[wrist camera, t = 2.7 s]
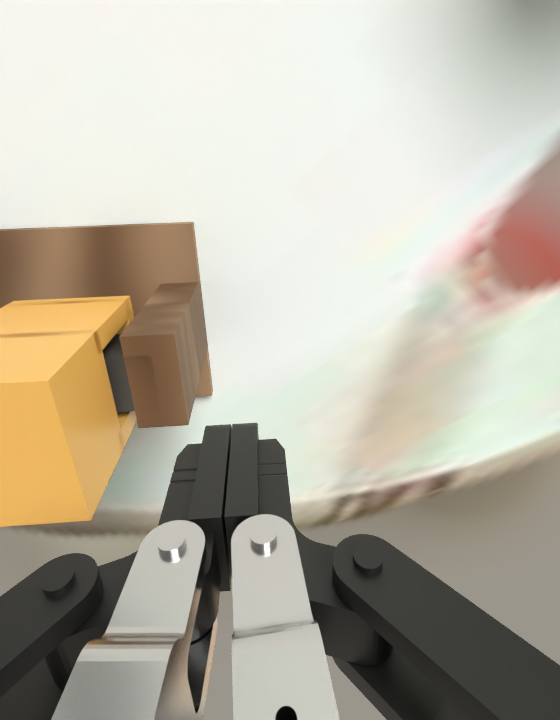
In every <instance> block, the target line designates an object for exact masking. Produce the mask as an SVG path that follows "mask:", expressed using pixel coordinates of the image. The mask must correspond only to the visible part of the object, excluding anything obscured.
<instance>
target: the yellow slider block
mask: <svg viewBox="0 0 560 720" xmlns="http://www.w3.org/2000/svg"><path fill="white" fill-rule="evenodd" d="M133 319H134V314H133V309H132V304H131V299H130V296H110V297H88V298H67V299H45V300H23V301H13V302H11V303H9V304H7V305H5V306H4V307H2V308H0V527H4V526H18V525H32V524H47V523H61V522H75V521H89V520H92V517H93V515H94V513H95V511H96V509H97V506H98V504H99V502H100V500H101V498H102V496H103V493H104V491H105V489H106V487H107V485H108V482H109V480H110V478H111V476H112V474H113V471H114V469H115V467H116V465H117V463H118V460H119V458H120V456H121V454H122V452H123V449H124V447H125V445H126V443H127V441H128V439H129V436H130V434H131V432H132V430H133V428H134V425H135V423H136V421H137V418H136V414H135V411H132V412H117V411H116V406H115V402H114V398H113V394H112V389H111V385H110V381H109V377H108V372H107V368H106V364H105V360H104V356H103V351H102V350H103V349H104V348H105V347H106V345H107V344H108V343H109V342H110V341H111V339H112V338H113V337H114V336H115V334H122V332H123V331H124V330H125V329H126V327H127V326H128V325H129V324H130V322H131V321H132V320H133Z"/></svg>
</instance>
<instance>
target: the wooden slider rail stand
mask: <svg viewBox="0 0 560 720" xmlns="http://www.w3.org/2000/svg"><path fill="white" fill-rule="evenodd" d="M110 296H130V299H131V304H132V309H133V314H134V319H133V320H132V321H131V322H130V324H129V325H128V326H127V327H126V329H125V330H124V331H123V332H122V334H115V336H114V337H113V338H112V339H111V341H110V342H109V343H108V344H107V345H106V347H105V348H104V349H103V350H102V351H103V356H104V360H105V364H106V368H107V372H108V377H109V381H110V385H111V389H112V394H113V398H114V402H115V406H116V411H117V412H132V411H135V414H136V418H137V423H138V428H148V427H164V426H181V425H188V424H189V419H190V415H191V411H192V407H193V403H194V399H195V396H210V395H212V392H213V389H212V380H211V371H210V362H209V354H208V345H207V336H206V328H205V319H204V310H203V301H202V293H201V284H200V275H199V266H198V258H197V249H196V240H195V232H194V223H193V222H181V223H155V224H128V225H102V226H76V227H50V228H24V229H0V308H2V307H4V306H5V305H7V304H9V303H11V302H13V301H23V300H45V299H67V298H88V297H110Z"/></svg>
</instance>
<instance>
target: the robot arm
mask: <svg viewBox="0 0 560 720" xmlns="http://www.w3.org/2000/svg"><path fill="white" fill-rule="evenodd" d="M231 576H232V590H233V591H232V592H233V623H234V624H233V626H234V627H233V634H232V679H233V680H232V681H233V720H340V719H339V715H338V710H337V705H336V701H335V696H334V691H333V687H332V682H331V678H330V673H329V668H328V664H327V659H326V655H329V656H332V657H333V659H334V661H335V663H336V665H337V666H338V667H339V668H340V670H341V671H342V672H343V673H344V674H345V675H346V676H347V677H348V678H349V679H350V680H351V682H352V683H353V684H354V685H355V686H356V687H357V688H358V689H359V690H360V691H361V692H362V693H363V695H365V697H366V698H367V699H368V700H369V701H370V702H371V703H372V704H373V705H374V706H375V707H376V708H377V710H378V711H379V712H380V713H381V714H382V715H383V716H384V717H385V718H386V719H387V720H560V665H558V664H557V663H556V662H554V661H553V660H551V659H550V658H549V657H547V656H546V655H544V654H543V653H542V652H540V651H539V650H538V649H536V648H535V647H533V646H532V645H531V644H529V643H528V642H526V641H525V640H524V639H522V638H521V637H519V636H518V635H516V634H515V633H514V632H512V631H511V630H510V629H508V628H507V627H505V626H504V625H502V624H501V623H500V622H498V621H497V620H496V619H494V618H493V617H491V616H490V615H489V614H487V613H486V612H484V611H483V610H481V609H480V608H479V607H477V606H476V605H475V604H473V603H472V602H470V601H469V600H468V599H466V598H465V597H463V596H462V595H461V594H459V593H458V592H456V591H455V590H454V589H452V588H451V587H450V586H448V585H447V584H445V583H444V582H442V581H441V580H440V579H438V578H437V577H436V576H434V575H433V574H431V573H430V572H429V571H427V570H426V569H424V568H423V567H422V566H420V565H419V564H417V563H416V562H415V561H413V560H412V559H410V558H409V557H407V556H406V555H405V554H403V553H402V552H401V551H399V550H398V549H396V548H395V547H394V546H392V545H391V544H389V543H388V542H386V541H385V540H383V539H381V538H379V537H376V536H373V535H366V534H359V535H353V536H349V537H347V538H345V539H344V540H343V541H341V542H340V543H339V544H338V545H337V547H334V546H330V545H325V544H321V543H317V542H314V541H312V540H310V539H308V538H306V537H305V536H304V535H302V534H301V533H300V532H299V531H298V530H297V528H296V527H295V525H294V523H293V520H292V513H291V504H290V495H289V486H288V477H287V468H286V458H285V450H284V448H283V447H282V446H281V444H280V443H279V442H278V441H277V439H266V440H259V438H258V424H257V423H245V424H233V425H232V426H231V424H230V425H213V426H206V427H205V431H204V436H203V441H202V444H188V445H187V446H186V447H185V448H184V449H183V450H182V452H181V453H180V454H179V455H178V456H177V459H176V463H175V466H174V472H173V474H172V477H171V484H170V485H169V488H168V492H167V496H166V499H165V503H164V507H163V510H162V514H161V518H160V521H159V525H158V527H156V528H154V529H153V530H152V531H151V532H149V533H148V534H147V535H146V537H145V538H144V539H143V541H142V543H141V545H140V547H139V549H138V551H137V552H135V553H133V554H131V555H129V556H127V557H124V558H122V559H119V560H116V561H113V562H110V563H107V564H104V565H101V566H98V567H97V564H96V562H95V560H94V559H92V558H91V557H90V556H88V555H85V554H80V553H73V554H68V555H63V556H60V557H58V558H55V559H53V560H51V561H49V562H47V563H46V564H44V565H43V566H41V567H40V568H39V569H37V570H36V571H35V572H33V573H32V574H30V575H29V576H28V577H26V578H25V579H24V580H22V581H21V582H20V583H18V584H17V585H15V586H14V587H13V588H11V589H10V590H9V591H7V592H6V593H5V594H3V595H2V596H1V597H0V720H203V717H204V710H205V703H206V697H207V690H208V684H209V678H210V671H211V665H212V659H213V652H214V646H215V639H216V632H217V625H218V624H217V623H218V621H217V613H218V605H219V593H220V591H230V589H231Z"/></svg>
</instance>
